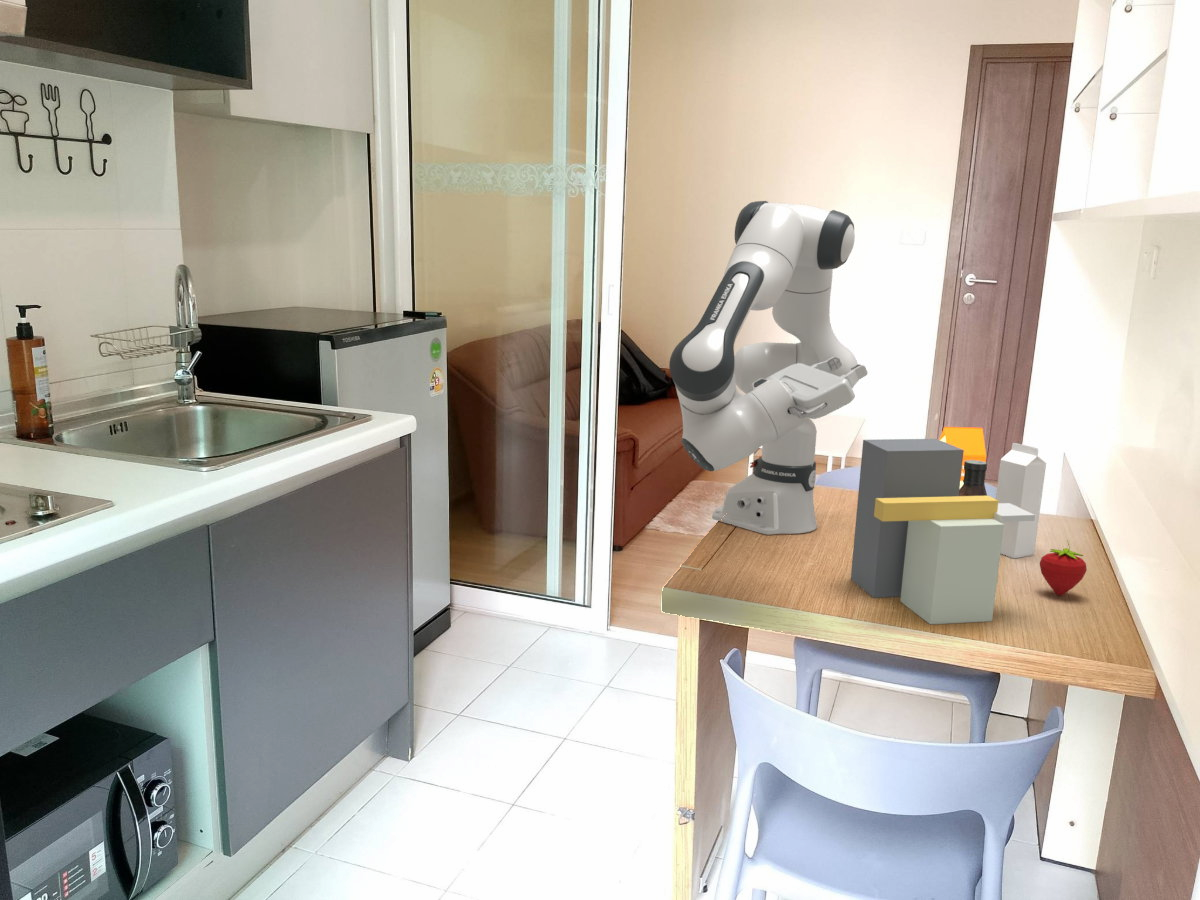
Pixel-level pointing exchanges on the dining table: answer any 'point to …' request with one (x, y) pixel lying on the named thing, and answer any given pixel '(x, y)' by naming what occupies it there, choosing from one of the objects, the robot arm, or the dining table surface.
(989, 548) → the sage green upright block
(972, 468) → the sauce bottle
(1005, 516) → the plate
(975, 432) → the orange juice
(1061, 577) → the strawberry
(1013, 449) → the milk
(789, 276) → the robot arm
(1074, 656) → the dining table surface
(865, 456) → the tall stand
